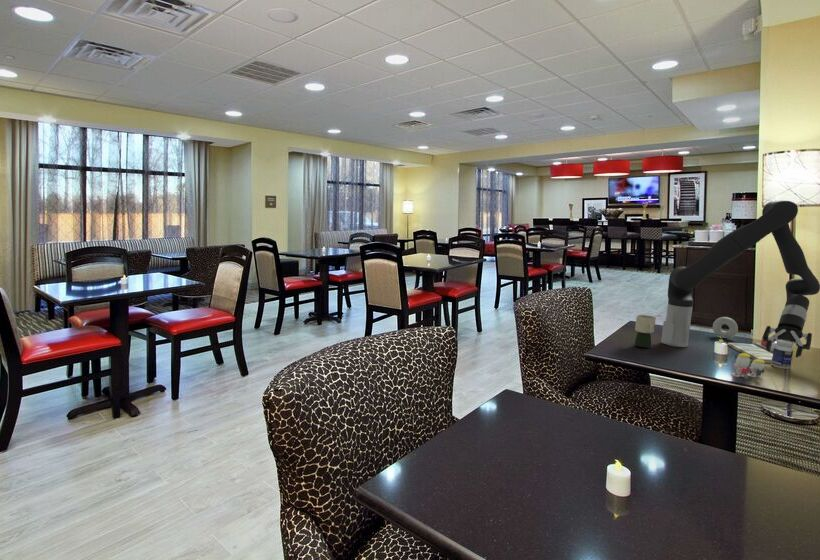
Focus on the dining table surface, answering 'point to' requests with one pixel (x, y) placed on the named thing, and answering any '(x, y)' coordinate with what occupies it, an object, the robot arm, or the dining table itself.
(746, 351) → the game track
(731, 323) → the donut
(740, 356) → the toy figures
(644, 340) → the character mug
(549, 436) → the dining table surface
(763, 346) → the dice dome
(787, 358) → the pill bottle
